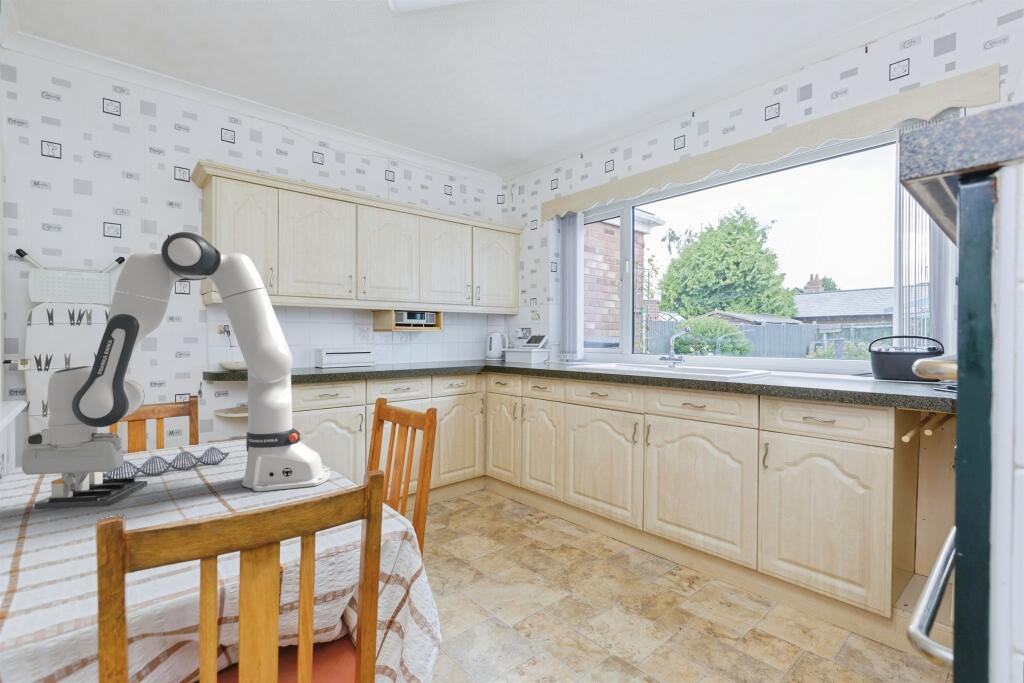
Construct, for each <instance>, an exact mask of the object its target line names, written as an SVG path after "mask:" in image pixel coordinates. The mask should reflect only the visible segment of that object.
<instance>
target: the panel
mask: <svg viewBox="0 0 1024 683" xmlns="http://www.w3.org/2000/svg"><path fill="white" fill-rule="evenodd" d="M114 478H115V479H109V478H105V479H104V478H103V483H102V484H89V489H88V490H79V491H73V496H72V497H60V498H52V495H51V496H49V497H47V498H44V499H42V500H40V501H37V502H35V503H34V509H35V508H37V509H52V508H53V509H55V508H56V509H57V508H58V509H59V508H76V507H96V506H97V507H101V506H111V505H113V504H114V503H116V502H118V501H120V500H122V499H124V498H125V497H128V496H129V495H131V494H133V493H135V492H136V493H137V491H140V490H141V489H143V488H144V487H147V486H148V481H147V480H143V481H142V480H136V478H135V477H134V478H128V477H127V478H125V477H124V478H122V477H121V478H119V477H118V478H116V477H114Z"/></svg>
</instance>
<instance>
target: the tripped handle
mask: <svg viewBox="0 0 1024 683" xmlns="http://www.w3.org/2000/svg"><path fill="white" fill-rule="evenodd" d="M50 482H51V483H50V488H51V489H50V490H51V496H52V498H60V497H72V496H73V491H68V486H67V484H66V483H65V481H64V480H63V479H62V477H59V478H57V479H54V480H52V481H50Z"/></svg>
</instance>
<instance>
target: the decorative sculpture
mask: <svg viewBox="0 0 1024 683" xmlns="http://www.w3.org/2000/svg"><path fill="white" fill-rule="evenodd" d="M229 455H230V452H223V451H222V450H220V449H219V448H218V447H215V446H213V445H212V446H209V447H208V448H207V449H206V450H205V451H203V453H202V455H200V457H197V456H196V455H195V454H193V453H191V452H190V451H187V450H182V451H181V452H179V453H178V454H177V455H176V456H175V457H174V458H173V460H172V461H168V460H166V459H165V458H164V457H162V456H159V455H152V456H150V457H149V458H148V459H147V460H145V462H144V463H142V465H141V466H140V467H138V466H136V465H135V464H134V463H133V462H131V461H128V460H124V464H123V466H122V467H121V468H120V469H117V470H115V471H111V472H103V479H115V478H135V477H136V476H137V475H138V474H140V473H142V474H144V475H146V476H151V477H153V476H154V477H155V476H156V477H157V476H160V475H163V474H164V473H167V471H168V470H169V469H170V468H172V469H174V470H178V471H188V470H190V469H193V468H194V467H196V466H197V465H198V464H199V463H201V464H202V465H207V466H216V465H218V464H220V463H222V462H223V461H224V460H225V459H226V458H228V456H229ZM130 474H131V475H130ZM127 476H128V477H127Z"/></svg>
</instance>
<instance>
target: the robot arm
mask: <svg viewBox="0 0 1024 683" xmlns="http://www.w3.org/2000/svg"><path fill="white" fill-rule="evenodd" d="M160 252H161V253H153V252H146V251H145V252H136V253H135V252H134V253H133V254H131V255H129V256H128V257H127V259H126V261H125V263H124V265H123V267H122V269H121V270H120V273H119V275H118V278H117V280H116V283H115V284H116V285H115V287H114V292H113V296H112V300H111V304H110V309H109V313H108V314H109V315H108V318H107V322H106V326H105V330H104V332H103V335H102V338H101V341H100V343H99V347H98V349H97V353H96V355H95V359H94V362H93V366H87V365H82V366H75V367H69V368H63V369H60V370H57V371H55V372H53V373H52V374H51V376H50V377H49V380H48V383H47V384H48V386H47V397H46V398H47V408H48V410H49V419H48V420H47V428H46V429H42V430H40V431H38V432H35V433H34V432H33V433H32V434H28V435H25V436H23V439H22V440H23V444H24V445H25V447H24V448H23V449H22V453H21V471H22V472H23V473H24V474H25V475H27V476H31V475H54V474H55V475H56V474H57V475H58V474H61V478H62V479H63V480H64V481H65V483H66V484H67V486H68V491H79V490H82V488H83V481H84V480H85V478H86V476H87V475H88V472H104V473H107V472H110V473H111V471H112V472H114V471H115V472H116V470H117V469H118V470H119V469H120V468H121V467H122V466H123V467H124V461H125V459H124V452H123V448H122V438H121V436H119V435H118V434H116V433H115V432H98V428H105V427H109V426H112V425H114V424H116V423H117V422H119V421H120V420H122V419H123V418H126V417H127V416H129V415H131V414H133V413H135V412H136V411H138V410H139V409H140V408H141V407H142V406H143V404H144V403H145V402H144V401H145V391H144V389H143V387H142V386H141V385H140V384H139V383H138V382H136V381H134V380H133V379H129V378H127V374H128V372H129V367H130V364H131V361H132V358H133V354H134V352H135V350H136V348H137V346H138V344H139V343H140V342H141V341H142V340H143V339H144V338H145V337H146V336H147V335H149V334H150V333H152V332H154V331H155V330H157V328H159V327H160V325H161V323H162V321H163V320H164V317H165V315H166V312H167V308H168V306H169V302H170V296H171V293H172V290H173V288H174V285H175V283H177V282H178V281H179V282H180V281H181V282H184V281H202V280H206V279H208V280H210V281H212V283H213V284H214V285H215V287H216V289H217V291H218V294H219V297H220V299H221V302H222V304H223V307H224V311H225V313H226V315H227V317H228V319H229V321H230V325H231V329H232V330H233V333H234V336H235V338H236V340H237V344H238V346H239V348H240V352H241V354H242V356H243V359H244V362H245V364H246V368H247V425H248V426H247V432H246V439H245V447H246V453H247V459H246V466H245V471H244V477H243V480H242V486H243V487H245V488H248V489H252V490H253V491H255V492H264V491H265V492H266V491H267V492H268V491H275V490H277V491H278V490H285V489H287V490H288V489H296V488H307V487H316V486H318V485H319V486H320V485H321V484H323V483H325V482H327V481H328V479H329V478H330V477H331V470H330V469H329V468H325V467H323V462H322V459H321V456H320V454H319V453H318V452H317V451H315V450H314V449H312V448H311V447H310V446H308V445H306V444H304V443H303V442H302V441H301V434H302V433H301V432H302V430H301V429H299V430H296V428H294V427H293V396H292V395H293V394H292V393H293V391H292V372H291V371H292V368H293V364H294V363H293V362H294V360H293V359H294V358H293V355H292V352H291V350H290V347H289V345H288V343H287V339H286V337H285V334H284V333H283V330H282V327H281V325H280V322H279V320H278V317H277V314H276V312H275V309H274V307H273V305H272V301H271V300H270V296H269V294H268V292H267V289H266V286H265V284H264V281H263V279H262V277H261V275H260V273H259V271H258V269H257V267H256V265H255V264H254V262H253V261H252V259H251V258H250V257H249V256H248V255H247V254H244V253H240V252H228V253H221V252H220V250H218V249H217V247H214V245H212V244H211V243H210V242H209V241H208V240H207V239H205V238H204V237H202V236H201V235H199V234H197V233H194V232H189V231H178V232H175V233H172V234H171V235H170V236H169V235H168V237H167V238H165V240H164V241H163V243H162V246H161V250H160ZM73 475H75V477H78V478H77V480H76V481H75V480H74V478H73Z"/></svg>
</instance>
